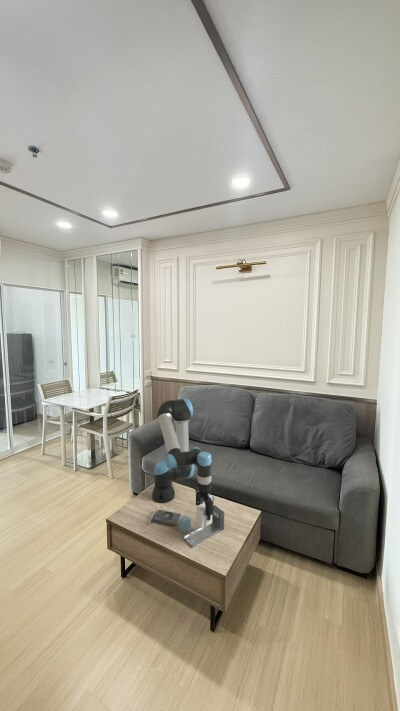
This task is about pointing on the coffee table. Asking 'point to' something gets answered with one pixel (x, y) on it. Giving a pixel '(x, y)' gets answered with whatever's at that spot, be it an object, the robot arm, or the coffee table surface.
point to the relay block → (184, 523)
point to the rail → (207, 529)
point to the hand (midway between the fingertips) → (204, 521)
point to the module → (202, 515)
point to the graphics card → (165, 517)
